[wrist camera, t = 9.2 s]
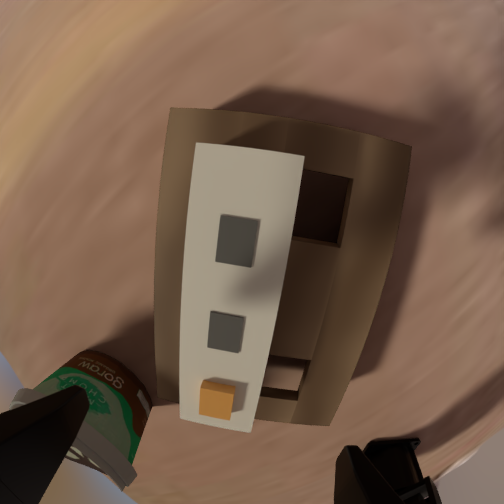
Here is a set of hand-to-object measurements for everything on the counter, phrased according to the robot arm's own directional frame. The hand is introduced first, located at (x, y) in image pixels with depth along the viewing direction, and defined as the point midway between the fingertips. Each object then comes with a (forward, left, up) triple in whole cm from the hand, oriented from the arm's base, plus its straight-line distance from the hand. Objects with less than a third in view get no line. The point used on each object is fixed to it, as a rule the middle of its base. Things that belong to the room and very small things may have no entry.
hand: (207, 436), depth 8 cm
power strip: (0, -2, -11) cm, 11 cm away
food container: (+12, +10, -12) cm, 20 cm away
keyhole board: (-1, -2, -12) cm, 12 cm away
